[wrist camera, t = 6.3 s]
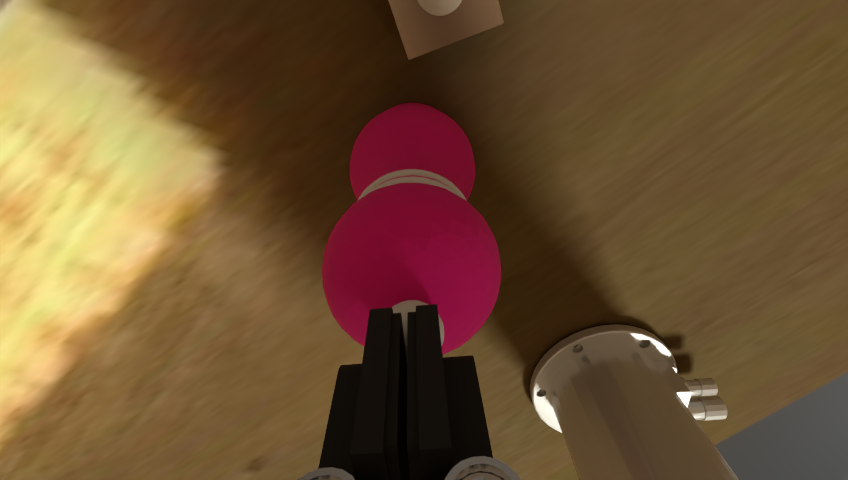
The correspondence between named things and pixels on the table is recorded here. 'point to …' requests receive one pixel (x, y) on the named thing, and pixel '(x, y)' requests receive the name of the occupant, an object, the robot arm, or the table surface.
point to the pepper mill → (412, 229)
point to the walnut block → (442, 22)
